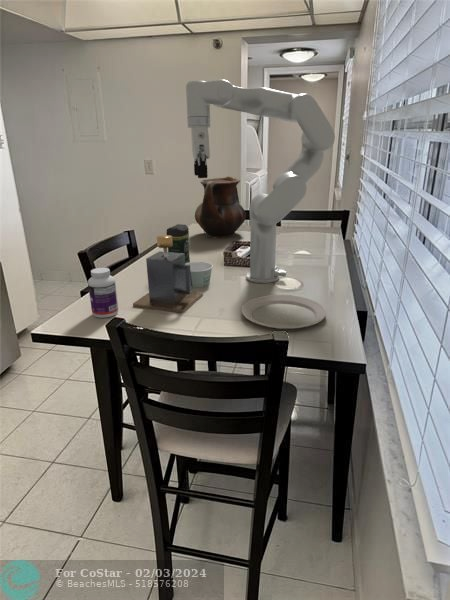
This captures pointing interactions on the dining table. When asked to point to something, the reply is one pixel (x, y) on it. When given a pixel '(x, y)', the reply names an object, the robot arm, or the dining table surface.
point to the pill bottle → (102, 293)
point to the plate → (288, 299)
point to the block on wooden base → (168, 284)
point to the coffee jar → (179, 240)
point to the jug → (220, 208)
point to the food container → (200, 273)
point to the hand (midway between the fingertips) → (200, 176)
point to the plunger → (164, 243)
